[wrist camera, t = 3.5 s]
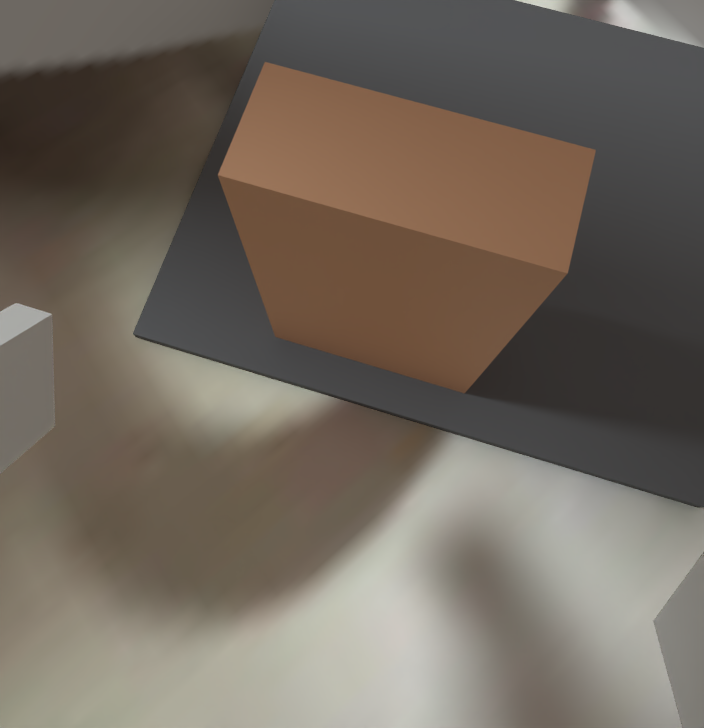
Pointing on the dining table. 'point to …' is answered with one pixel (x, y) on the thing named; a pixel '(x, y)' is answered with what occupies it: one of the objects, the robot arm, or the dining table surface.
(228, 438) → the dining table surface
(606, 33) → the rubber mat
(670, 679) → the robot arm
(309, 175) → the card deck box
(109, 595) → the dining table surface
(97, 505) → the dining table surface
